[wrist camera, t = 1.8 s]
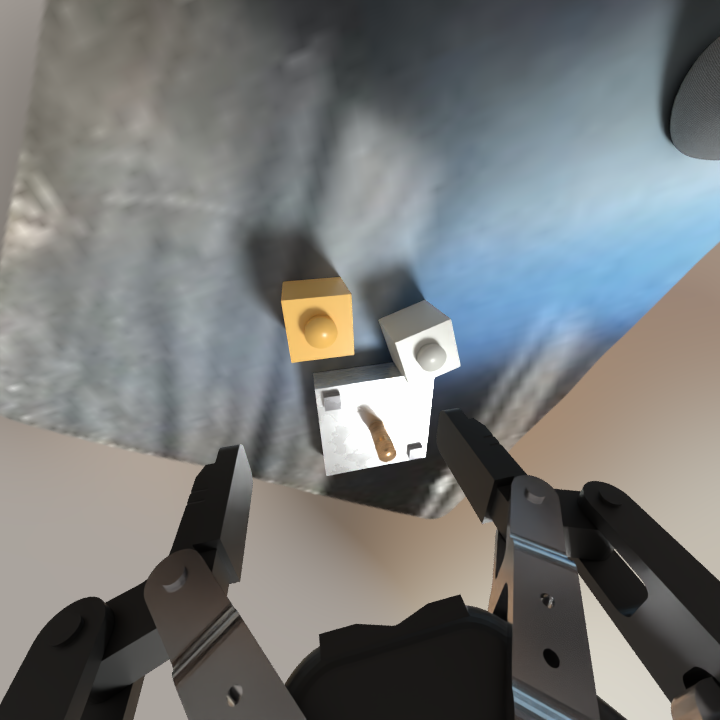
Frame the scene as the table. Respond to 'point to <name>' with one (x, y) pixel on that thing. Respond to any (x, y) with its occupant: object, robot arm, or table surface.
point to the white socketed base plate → (371, 417)
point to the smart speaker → (699, 108)
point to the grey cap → (420, 342)
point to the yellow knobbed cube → (318, 318)
